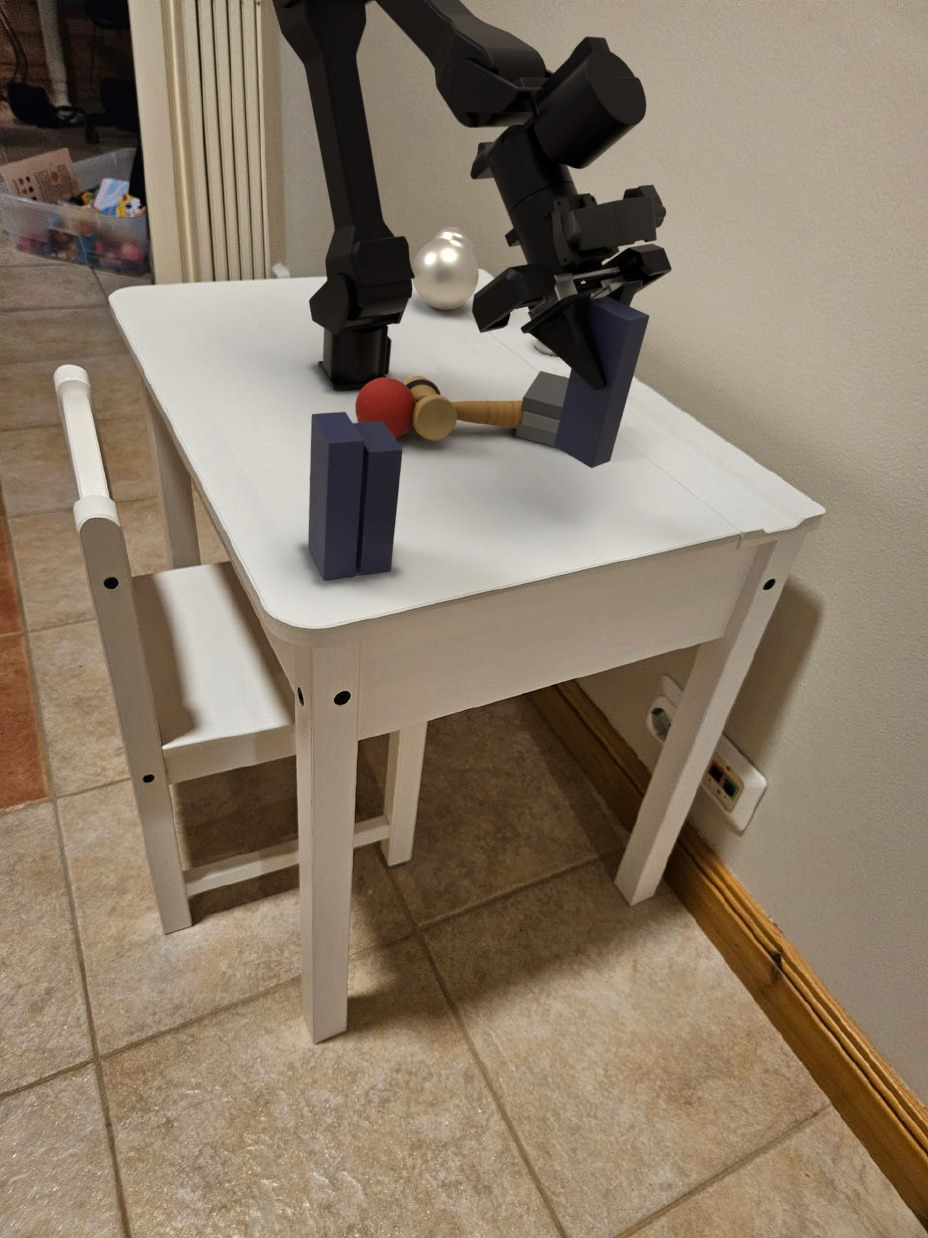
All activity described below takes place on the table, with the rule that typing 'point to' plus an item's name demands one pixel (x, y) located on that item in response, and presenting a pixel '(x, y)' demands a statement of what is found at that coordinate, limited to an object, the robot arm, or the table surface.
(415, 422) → the kendama
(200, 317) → the table surface
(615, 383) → the navy book
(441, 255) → the baroque pearl
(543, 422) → the grey books
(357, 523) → the navy books
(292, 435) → the table surface
